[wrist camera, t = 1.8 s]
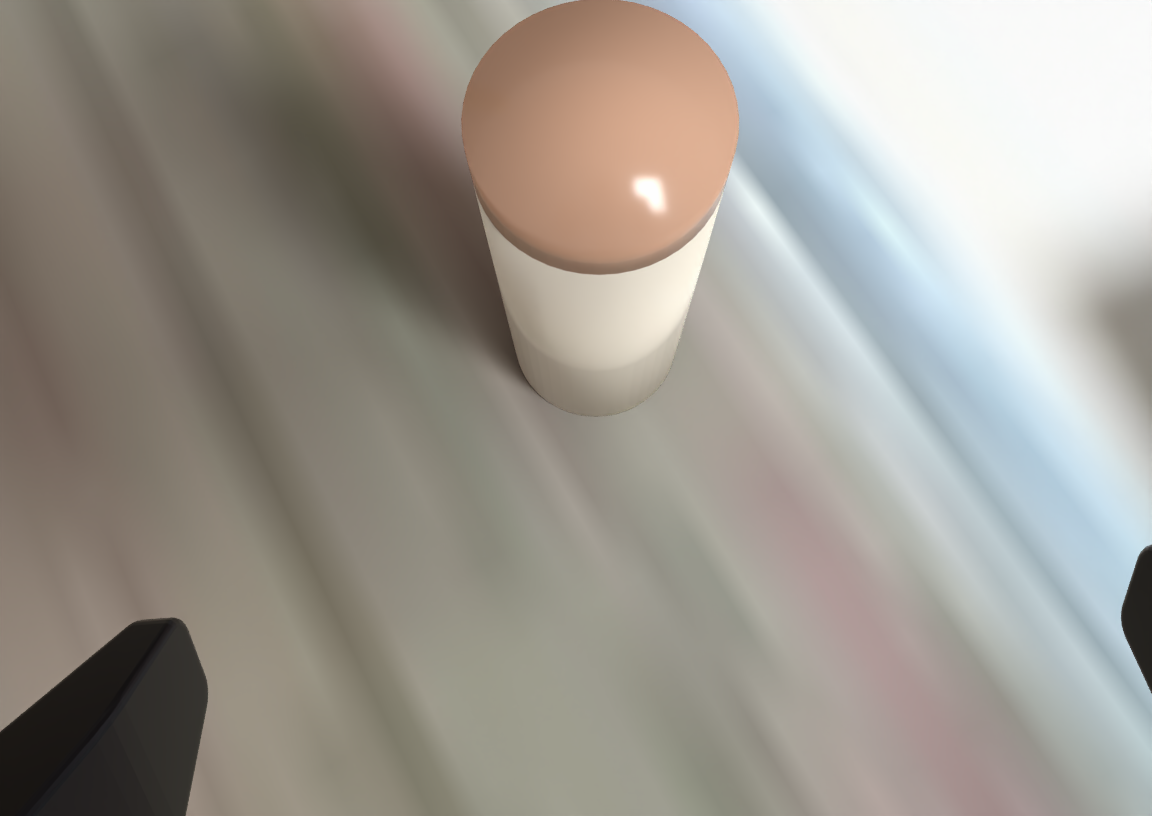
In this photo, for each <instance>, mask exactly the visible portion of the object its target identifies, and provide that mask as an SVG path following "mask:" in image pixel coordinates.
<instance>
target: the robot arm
mask: <svg viewBox="0 0 1152 816" xmlns="http://www.w3.org/2000/svg"><path fill="white" fill-rule="evenodd" d="M1121 621H1122V627H1123V631H1124V634H1125V637H1126V639H1127V641H1128V644H1129V646H1130V648H1131V650H1132V652H1133V654H1134V657H1135V659H1136V661H1137V663H1138V665H1139V667H1140V669H1141V672H1142V674H1143V676H1144V678H1145V680H1146V682H1147V685H1148V687H1149V689H1150V691H1151V693H1152V545H1149V546H1147V547H1145V548H1144V549H1143V550H1142V551H1141V552H1140V554H1139V556H1138V559H1137V562H1136V565H1135V568H1134V571H1133V575H1132V578H1131V581H1130V584H1129V587H1128V590H1127V593H1126V596H1125V599H1124V603H1123V606H1122V611H1121ZM207 702H208V686H207V680H206V676H205V674H204V671H203V668H202V666H201V663H200V660H199V658H198V655H197V652H196V650H195V647H194V644H193V642H192V639H191V636H190V634H189V631H188V629H187V627H186V625H185V624H184V623H183V621H181V620H180V619H177V618H160V619H147V620H140V621H136V622H134V623H132V624H130V625H129V626H128V627H126V628H125V629H124V630H123V631H121V632H120V633H119V634H118V635H117V636H115V637H114V638H113V639H112V640H111V641H109V642H108V643H107V644H106V645H104V646H103V647H102V648H101V649H100V650H98V651H97V652H96V653H95V654H94V655H92V656H91V657H90V658H89V659H88V660H86V661H85V662H84V663H83V664H82V665H80V666H79V667H78V668H77V669H76V670H74V671H73V672H72V673H71V674H69V675H68V676H67V677H66V678H65V679H63V680H62V681H61V682H60V683H59V684H57V685H56V686H55V687H54V688H53V689H51V690H50V691H49V692H48V693H47V694H45V695H44V696H43V697H42V698H41V699H39V700H38V701H37V702H36V703H34V704H33V705H32V706H31V707H30V708H28V709H27V710H26V711H25V712H24V713H22V714H21V715H20V716H19V717H18V718H16V719H15V720H14V721H13V722H12V723H10V724H9V725H8V726H7V727H6V728H4V729H3V730H2V731H1V732H0V816H186V811H187V806H188V801H189V796H190V791H191V785H192V780H193V775H194V770H195V765H196V760H197V755H198V749H199V744H200V739H201V734H202V729H203V724H204V719H205V713H206V708H207Z"/></svg>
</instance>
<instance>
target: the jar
mask: <svg viewBox="0 0 1152 816" xmlns="http://www.w3.org/2000/svg"><path fill="white" fill-rule="evenodd" d="M461 121H462V138H463V144H464V149H465V154H466V158H467V162H468V166H469V170H470V173H471V177H472V181H473V185H474V189H475V193H476V197H477V201H478V205H479V209H480V213H481V217H482V221H483V225H484V229H485V233H486V236H487V240H488V244H489V248H490V252H491V256H492V260H493V264H494V268H495V272H496V276H497V280H498V284H499V288H500V292H501V296H502V300H503V303H504V307H505V311H506V315H507V319H508V323H509V327H510V331H511V335H512V339H513V343H514V347H515V351H516V355H517V358H518V361H519V364H520V368H521V370H522V372H523V374H524V376H525V378H526V379H527V380H528V382H529V383H530V385H531V386H532V387H533V388H534V390H535V391H536V392H537V393H538V394H539V395H540V396H542V397H543V398H544V399H545V400H546V401H548V402H549V403H551V404H552V405H554V406H556V407H558V408H560V409H562V410H564V411H567V412H570V413H573V414H578V415H583V416H594V417H598V416H609V415H614V414H618V413H621V412H624V411H627V410H629V409H632V408H634V407H636V406H637V405H639V404H641V403H642V402H644V401H645V400H646V399H648V398H649V397H650V396H651V395H652V394H653V393H654V392H655V391H656V390H657V389H658V388H659V387H660V386H661V384H662V383H663V381H664V380H665V378H666V377H667V375H668V373H669V371H670V369H671V366H672V363H673V360H674V357H675V353H676V350H677V347H678V343H679V340H680V337H681V333H682V330H683V327H684V323H685V320H686V316H687V313H688V310H689V306H690V303H691V300H692V296H693V293H694V289H695V286H696V283H697V279H698V276H699V273H700V269H701V266H702V262H703V259H704V256H705V252H706V249H707V246H708V242H709V239H710V235H711V232H712V229H713V225H714V222H715V219H716V215H717V212H718V208H719V205H720V202H721V198H722V195H723V192H724V188H725V185H726V181H727V178H728V175H729V171H730V168H731V165H732V161H733V158H734V154H735V151H736V146H737V140H738V134H739V114H738V105H737V100H736V96H735V92H734V88H733V85H732V83H731V81H730V78H729V76H728V73H727V71H726V70H725V68H724V66H723V65H722V63H721V61H720V60H719V58H718V56H717V55H716V54H715V53H714V51H713V50H712V49H711V48H710V46H709V45H708V44H707V43H706V42H705V41H704V40H703V39H702V38H701V37H700V36H699V35H698V34H697V33H695V32H694V31H693V30H691V29H690V28H689V27H687V26H686V25H685V24H683V23H682V22H680V21H678V20H677V19H675V18H673V17H671V16H670V15H668V14H666V13H663V12H661V11H658V10H656V9H654V8H651V7H648V6H644V5H641V4H637V3H633V2H627V1H621V0H579V1H574V2H568V3H564V4H560V5H557V6H553V7H550V8H547V9H545V10H543V11H540V12H538V13H536V14H533V15H531V16H530V17H528V18H526V19H524V20H523V21H521V22H519V23H518V24H516V25H515V26H514V27H512V28H511V29H510V30H508V31H507V32H506V33H504V34H503V35H502V36H501V37H500V38H499V39H498V40H497V41H496V42H495V43H494V44H493V45H492V46H491V47H490V49H489V50H488V51H487V53H486V54H485V55H484V56H483V58H482V59H481V61H480V62H479V64H478V66H477V67H476V69H475V71H474V73H473V75H472V77H471V80H470V82H469V85H468V87H467V91H466V94H465V98H464V102H463V110H462V118H461Z"/></svg>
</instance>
